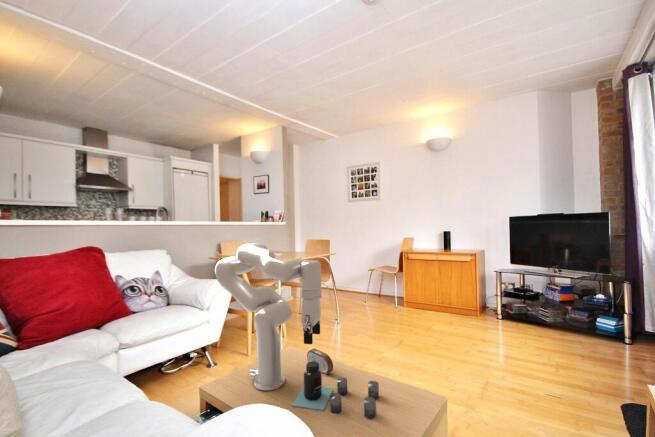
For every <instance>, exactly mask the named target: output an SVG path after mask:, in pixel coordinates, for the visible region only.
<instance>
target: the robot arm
mask: <svg viewBox="0 0 655 437" xmlns="http://www.w3.org/2000/svg"><path fill="white" fill-rule="evenodd" d="M275 257H276V256H275V252H273V250H271V249H268V247H267V245H266V244H264V243H262V242H253V243H252V242H251V243H245V244H242V245H241V246H239V247H238V248H237V251H236V256H229V257H225V258H222V259H221V260H219V261H217V263H216V264H215V267H214V273H215V277H216V280H217V282H218V283H219V285H220V286H221V287H222V288H224V290H226V291H227V292H228V293H229V294H230V295H231V296H232V297H233V298H234V299H235V300H236V302H238V304H240V306H241V307H242V308H243V309H244V310H245V311H247V312H249V313H255V314H254V317H253V323H254V324H253V325H254V328H255V334H256V355H257V356H256V357H257V360H256V362H257V364H256V365H257V366H256V367H257V369H253V368H252V369H250V370H249V378H254V380H253V386H254V388H255V389H257V390H259V391H273V390H274V391H275V390H277V389H279V388H280V387H282V386H283V385H284V384H285V379H286V378H285V376H284V375H283V374H282V364H281V363H282V362H281V359H282V358H281V357H282V356H281V336H280V333H279V332H278V330H277V328H278V327H279V326H282V325H284V324H286V323H287V322H288V321H290V320H291V318H292V314H293V311H292V310H293V309H292V307H291V306H290V304H289V303H288V302H287V301H286V300H285V299H284V298H283V297H282V296H281V295H280V294H279V293H278V292H277V291H276V290H275V289H274V288H273V287H270V286H268V285H261V286H258V287H254V286H253V285H251V284H250V283H249V282H248V281H247V280H246V279H245V278H242V277H240V276H239V275H243V274H247V273H249V272H251V271H253V270H254V269H255V268H257V269H260V270H262V272H263V273H264V274H265V275H266V276H267V277H268V278H271V279H274V280H276V281H279V282H280V281H281V282H289V281H293V280H297V279H301V281H300V282H301V299H302V301H301V323H300V325H301V326H302V329H303V332H302V333H303V344H304V345H312V344H313V342H314V340H313V335H320V334H321V313H322V312H321V299H322V296H323V295H322V264H321V262H320V260H316V259H314V260H312V259H311V260H308V259H304V258H293V259H289V260H280V259H279V260H278V259H276V258H275Z"/></svg>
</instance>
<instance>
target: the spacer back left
mask: <svg viewBox="0 0 655 437" xmlns="http://www.w3.org/2000/svg"><path fill="white" fill-rule="evenodd" d="M336 387H337V388H336V393H339V394H341V397H344V396H347V395H348V391H349V390H348V379H347V378H346V377H342V376H341V377H338V378H337V379H336Z"/></svg>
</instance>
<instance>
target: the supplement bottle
mask: <svg viewBox="0 0 655 437" xmlns="http://www.w3.org/2000/svg"><path fill="white" fill-rule="evenodd" d="M322 377H323V373H321V371H320V370H319V363H318V362H314V361H311V362H308V361H307V363H306V364H305V371H304V373H303V386H304V397H305V398H306V399H308V400H317V399H319V398H320V397H321V395H322V387H323V379H322Z"/></svg>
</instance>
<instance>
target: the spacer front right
mask: <svg viewBox="0 0 655 437" xmlns="http://www.w3.org/2000/svg"><path fill="white" fill-rule="evenodd" d="M376 401H377V400H375V399H374V398H372V397H368V396H367V397H365V398H363V416H364V418H366V419H369V420H373V419H376V417H377V411H376V410H377V406H376V405H377V402H376Z"/></svg>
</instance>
